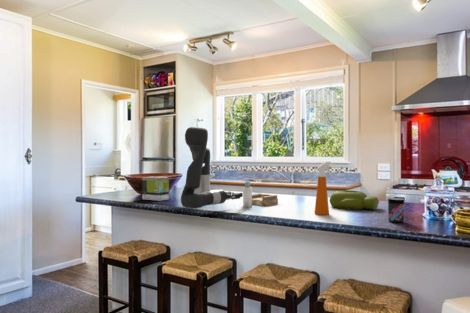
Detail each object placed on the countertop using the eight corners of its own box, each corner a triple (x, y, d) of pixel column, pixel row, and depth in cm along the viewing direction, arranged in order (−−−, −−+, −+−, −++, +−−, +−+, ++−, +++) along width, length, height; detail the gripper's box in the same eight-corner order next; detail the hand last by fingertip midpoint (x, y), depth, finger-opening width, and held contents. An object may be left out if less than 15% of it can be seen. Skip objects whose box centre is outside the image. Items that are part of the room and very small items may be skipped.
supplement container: (385, 221, 160) (385, 198, 160) (392, 220, 165) (392, 197, 164) (399, 224, 155) (400, 200, 155) (407, 222, 159) (407, 199, 159)
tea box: (169, 199, 234) (169, 176, 234) (158, 201, 226) (158, 177, 226) (152, 197, 243) (152, 175, 242) (141, 199, 234) (141, 176, 234)
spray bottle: (337, 213, 181) (337, 161, 180) (321, 215, 175) (321, 162, 175) (327, 211, 187) (327, 161, 186) (311, 213, 181) (311, 161, 181)
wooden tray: (247, 203, 215) (247, 195, 215) (259, 201, 224) (259, 193, 224) (265, 206, 206) (265, 197, 206) (277, 203, 215) (277, 195, 214)
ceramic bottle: (241, 206, 204) (241, 182, 204) (246, 205, 208) (246, 181, 208) (248, 207, 201) (248, 182, 201) (253, 206, 205) (253, 181, 204)
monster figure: (371, 195, 183) (324, 192, 197) (371, 213, 183) (324, 208, 198) (380, 191, 200) (336, 188, 215) (380, 207, 201) (336, 203, 215)
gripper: (225, 190, 180) (246, 188, 192) (205, 188, 190) (226, 186, 202) (225, 205, 180) (246, 202, 192) (205, 202, 190) (226, 199, 202)
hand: (236, 194), depth 197 cm, fingers open, 8 cm apart
